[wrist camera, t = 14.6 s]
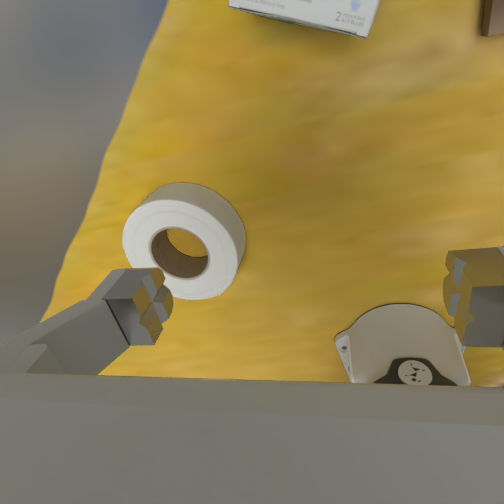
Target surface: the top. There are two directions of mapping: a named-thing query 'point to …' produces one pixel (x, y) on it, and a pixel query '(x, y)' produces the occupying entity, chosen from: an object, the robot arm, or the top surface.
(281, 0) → the light bulb box
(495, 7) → the stand
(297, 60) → the top surface
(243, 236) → the roll of tape
